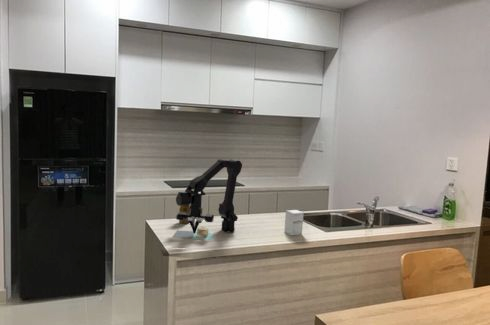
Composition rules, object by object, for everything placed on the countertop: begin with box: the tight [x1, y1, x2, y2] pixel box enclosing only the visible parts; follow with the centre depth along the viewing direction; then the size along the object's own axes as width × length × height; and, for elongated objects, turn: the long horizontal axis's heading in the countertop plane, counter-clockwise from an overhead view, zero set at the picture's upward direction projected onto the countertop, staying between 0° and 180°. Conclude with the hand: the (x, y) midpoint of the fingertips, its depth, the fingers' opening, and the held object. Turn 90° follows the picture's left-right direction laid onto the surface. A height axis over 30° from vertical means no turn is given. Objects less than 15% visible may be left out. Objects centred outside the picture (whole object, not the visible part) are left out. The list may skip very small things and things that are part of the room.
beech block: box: [196, 226, 209, 238], centre depth 203 cm, size 5×5×4 cm
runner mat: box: [171, 229, 215, 241], centre depth 203 cm, size 20×12×1 cm, turn 87°
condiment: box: [176, 204, 190, 225], centre depth 224 cm, size 7×8×12 cm
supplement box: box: [284, 209, 304, 237], centre depth 217 cm, size 7×7×13 cm
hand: (194, 233), depth 203 cm, fingers closed
